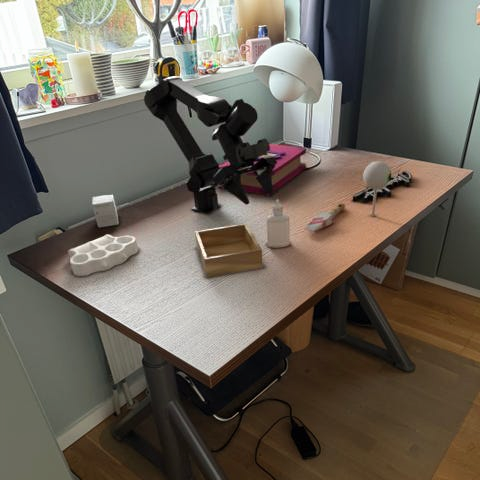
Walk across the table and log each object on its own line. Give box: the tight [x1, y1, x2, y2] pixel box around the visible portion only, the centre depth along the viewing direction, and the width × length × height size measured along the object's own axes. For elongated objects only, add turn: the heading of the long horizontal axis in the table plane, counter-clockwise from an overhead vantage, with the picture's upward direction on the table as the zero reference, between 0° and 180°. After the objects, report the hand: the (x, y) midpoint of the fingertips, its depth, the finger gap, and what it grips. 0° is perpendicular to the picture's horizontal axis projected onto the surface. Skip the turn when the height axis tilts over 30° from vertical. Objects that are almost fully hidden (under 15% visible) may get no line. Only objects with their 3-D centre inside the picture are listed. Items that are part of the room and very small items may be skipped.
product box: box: [91, 194, 119, 229], centre depth 137 cm, size 6×6×7 cm
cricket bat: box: [303, 202, 346, 232], centre depth 129 cm, size 4×3×20 cm
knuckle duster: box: [67, 234, 139, 277], centre depth 120 cm, size 3×18×15 cm
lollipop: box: [362, 160, 392, 217], centre depth 126 cm, size 7×7×15 cm
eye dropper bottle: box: [266, 199, 291, 249], centre depth 117 cm, size 4×6×12 cm
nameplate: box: [352, 170, 413, 204], centre depth 145 cm, size 28×2×10 cm
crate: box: [194, 222, 264, 278], centre depth 115 cm, size 16×14×5 cm
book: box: [218, 143, 307, 196], centre depth 160 cm, size 21×28×8 cm
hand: (260, 200), depth 122 cm, fingers open, 9 cm apart
